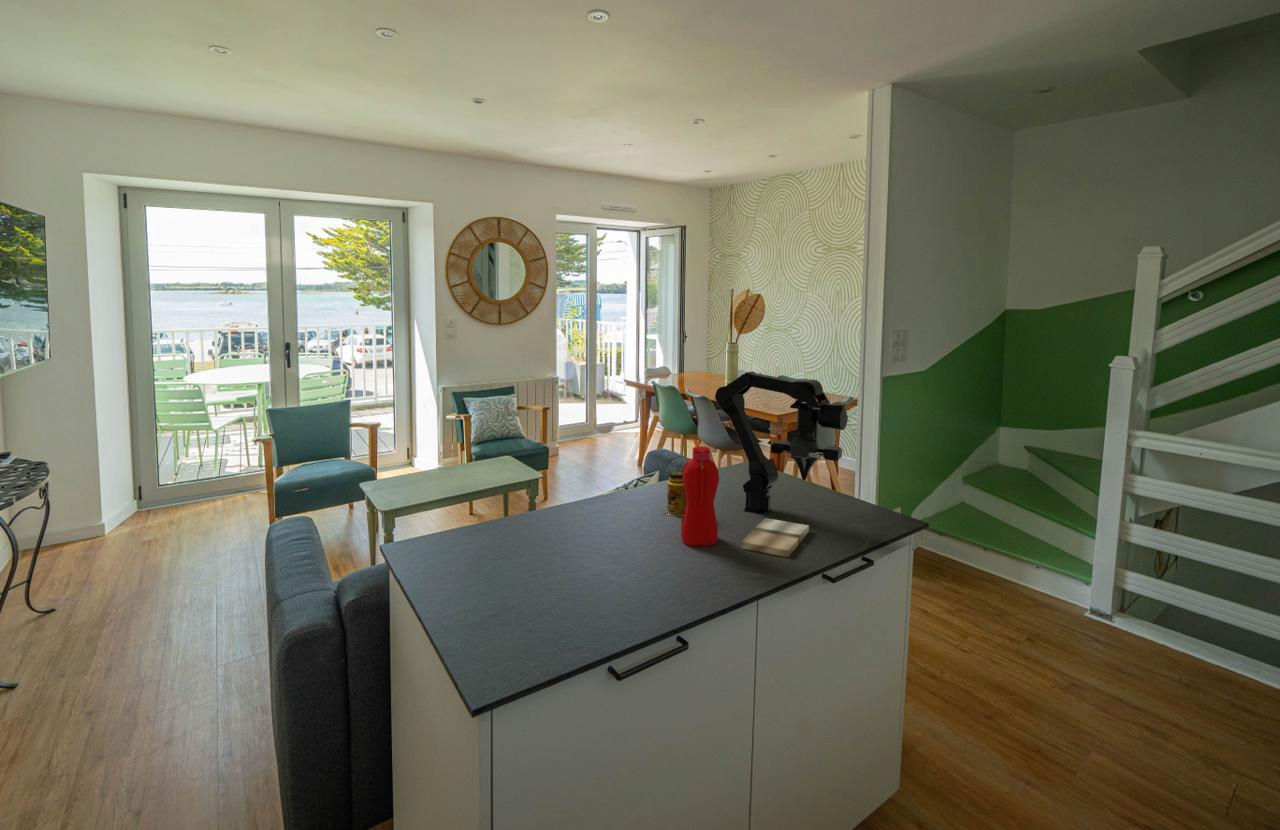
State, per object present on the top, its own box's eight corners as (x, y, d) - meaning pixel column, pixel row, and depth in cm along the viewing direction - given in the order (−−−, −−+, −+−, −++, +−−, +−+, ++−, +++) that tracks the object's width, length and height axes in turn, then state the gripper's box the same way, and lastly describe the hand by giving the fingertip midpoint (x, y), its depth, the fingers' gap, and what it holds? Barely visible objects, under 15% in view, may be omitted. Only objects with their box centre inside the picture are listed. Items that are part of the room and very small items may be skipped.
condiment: (662, 514, 190) (663, 474, 188) (671, 505, 198) (672, 467, 195) (686, 517, 187) (687, 477, 185) (694, 508, 195) (695, 469, 193)
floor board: (741, 549, 164) (741, 541, 164) (753, 536, 173) (754, 529, 172) (788, 558, 158) (788, 550, 158) (798, 544, 167) (799, 537, 167)
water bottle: (682, 550, 163) (684, 453, 158) (680, 534, 174) (682, 443, 169) (719, 550, 163) (722, 453, 158) (714, 535, 174) (717, 443, 169)
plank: (755, 534, 173) (755, 527, 173) (765, 525, 181) (765, 518, 181) (800, 542, 168) (800, 535, 168) (808, 532, 176) (809, 525, 175)
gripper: (765, 426, 178) (763, 482, 181) (835, 434, 169) (831, 492, 172) (777, 420, 187) (775, 472, 190) (844, 427, 179) (840, 482, 181)
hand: (804, 479), depth 183 cm, fingers closed
